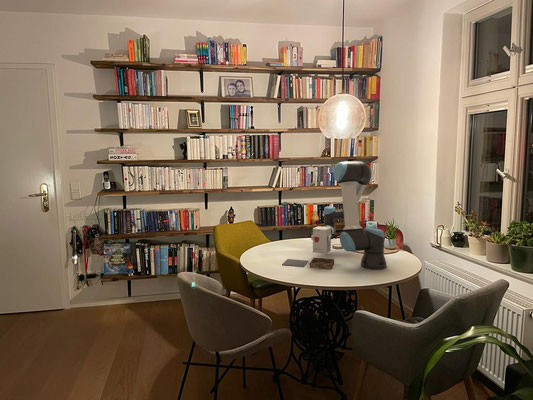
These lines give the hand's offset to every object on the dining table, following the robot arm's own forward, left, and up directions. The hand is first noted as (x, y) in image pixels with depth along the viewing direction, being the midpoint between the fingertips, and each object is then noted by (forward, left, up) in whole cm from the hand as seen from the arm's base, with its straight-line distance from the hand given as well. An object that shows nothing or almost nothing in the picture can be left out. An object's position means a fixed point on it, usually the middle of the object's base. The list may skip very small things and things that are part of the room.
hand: (320, 238), depth 226 cm
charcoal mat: (+17, -4, -18) cm, 25 cm away
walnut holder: (-1, -4, -18) cm, 18 cm away
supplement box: (0, -4, -9) cm, 10 cm away
